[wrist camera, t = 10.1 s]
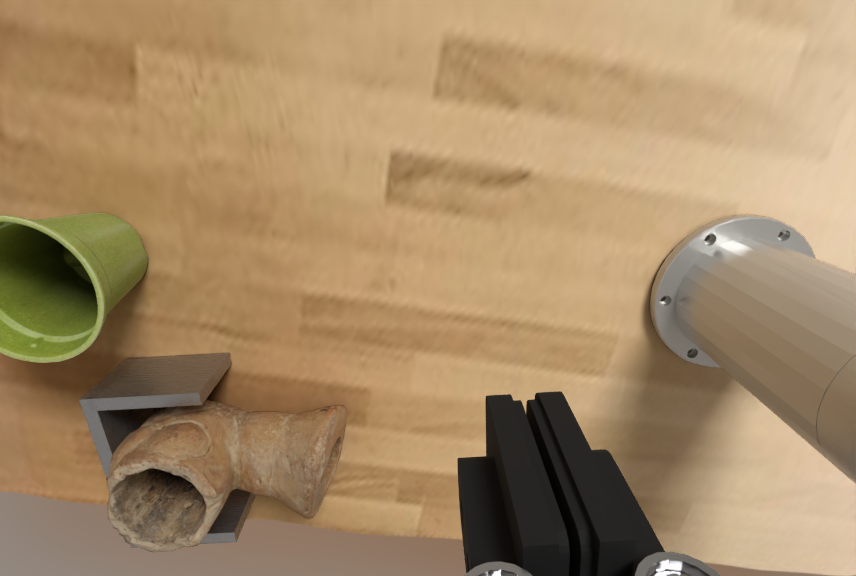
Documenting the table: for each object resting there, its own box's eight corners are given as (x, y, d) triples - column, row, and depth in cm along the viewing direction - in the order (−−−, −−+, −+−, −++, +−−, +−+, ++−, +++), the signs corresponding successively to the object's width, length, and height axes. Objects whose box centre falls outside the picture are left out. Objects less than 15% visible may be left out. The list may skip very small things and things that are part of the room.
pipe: (348, 467, 45) (329, 563, 35) (167, 461, 44) (99, 557, 35) (348, 381, 42) (328, 462, 32) (153, 373, 41) (75, 453, 32)
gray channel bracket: (229, 352, 40) (199, 393, 35) (258, 487, 45) (236, 541, 40) (126, 358, 40) (78, 399, 35) (166, 492, 45) (131, 547, 40)
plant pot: (143, 330, 39) (71, 388, 31) (25, 269, 37) (-84, 315, 29) (191, 235, 37) (127, 272, 29) (67, 164, 35) (-40, 182, 27)
